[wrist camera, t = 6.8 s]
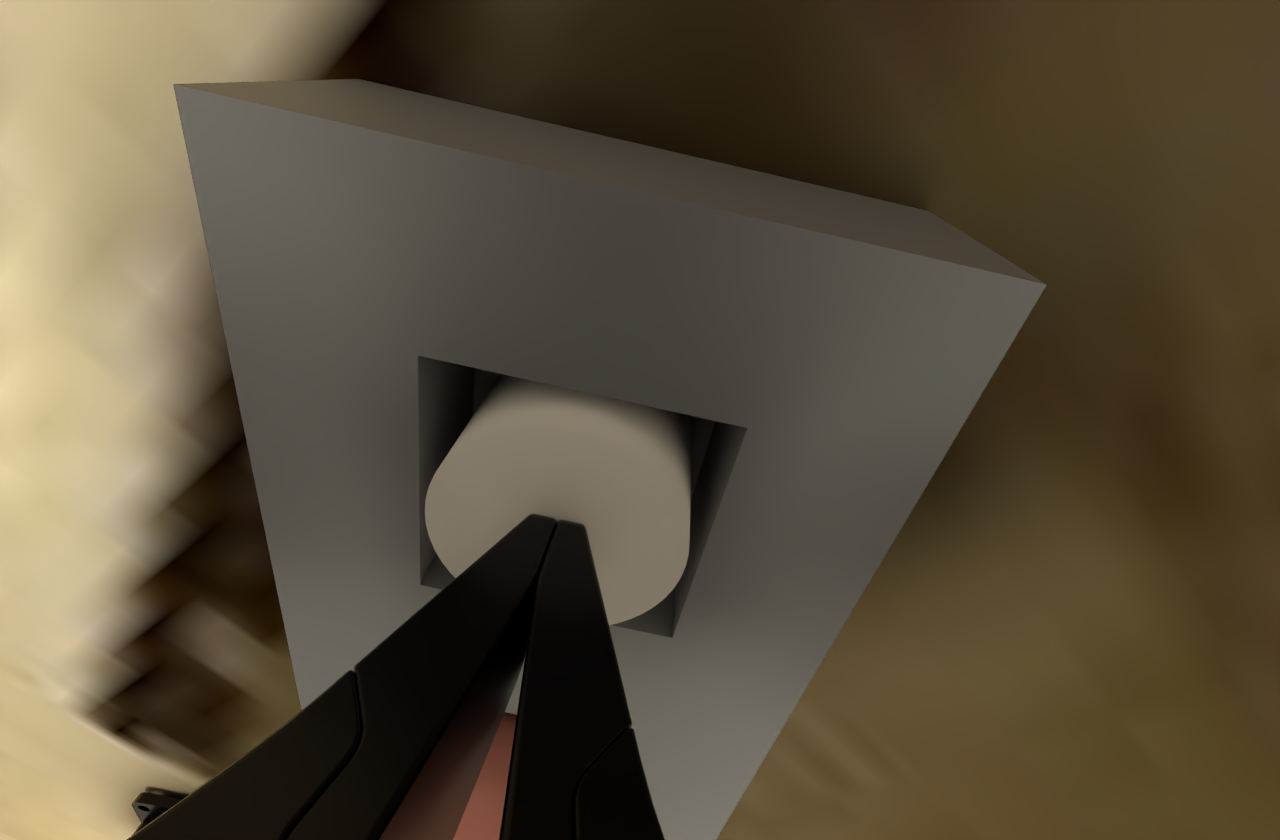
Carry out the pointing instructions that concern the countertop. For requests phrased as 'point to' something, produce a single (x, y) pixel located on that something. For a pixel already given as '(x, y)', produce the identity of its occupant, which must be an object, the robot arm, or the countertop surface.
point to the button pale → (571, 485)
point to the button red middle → (489, 788)
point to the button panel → (584, 376)
